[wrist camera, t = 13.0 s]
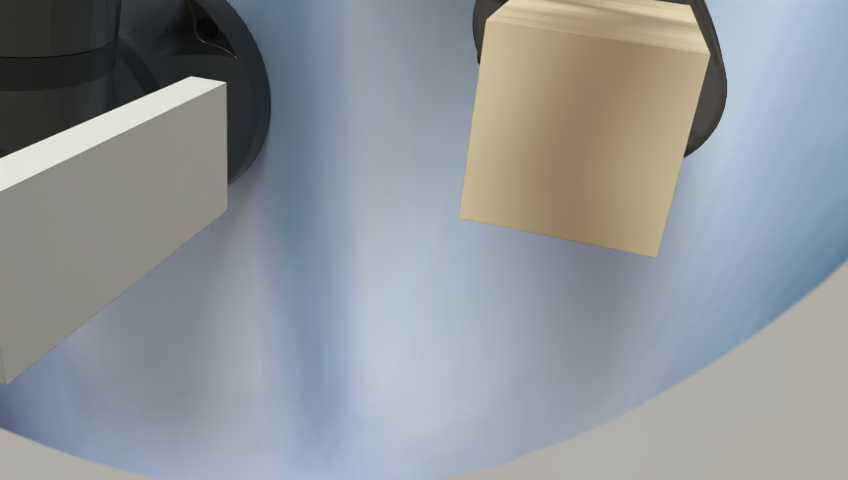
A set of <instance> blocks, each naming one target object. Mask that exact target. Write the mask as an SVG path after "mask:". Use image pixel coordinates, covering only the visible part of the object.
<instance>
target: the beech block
mask: <svg viewBox="0 0 848 480" xmlns="http://www.w3.org/2000/svg"><path fill="white" fill-rule="evenodd" d="M709 58H710V52H709V50H708V47H707V45H706V43H705V40H704V38H703V35H702V33H701V31H700V28H699V26H698V23H697V21H696V19H695V16H694V14H693V12H692V9H691V7H690V5H683V4H677V3H670V2H663V1H656V0H509V1H507V2H506V3H505V4H504V5H503V6H502V7H501V8H499V9H498V10H497V11H496V12H495V13H494V14H492V15H491V16H490V17H489V18H488V19H487V20H486V25H485V32H484V39H483V47H482V54H481V61H480V68H479V75H478V83H477V90H476V97H475V104H474V112H473V119H472V126H471V133H470V140H469V148H468V155H467V162H466V169H465V176H464V184H463V191H462V198H461V205H460V213H459V218H462V219H467V220H472V221H477V222H482V223H487V224H492V225H497V226H502V227H507V228H512V229H517V230H522V231H527V232H532V233H537V234H542V235H547V236H552V237H557V238H562V239H567V240H572V241H577V242H582V243H587V244H592V245H597V246H602V247H607V248H612V249H617V250H622V251H626V252H631V253H636V254H641V255H646V256H651V257H656V258H657V255H658V251H659V247H660V243H661V239H662V236H663V232H664V228H665V224H666V221H667V217H668V213H669V209H670V205H671V202H672V198H673V194H674V190H675V187H676V183H677V179H678V175H679V171H680V168H681V164H682V160H683V156H684V152H685V149H686V145H687V141H688V137H689V134H690V130H691V126H692V122H693V118H694V115H695V111H696V107H697V103H698V100H699V96H700V92H701V88H702V84H703V81H704V77H705V73H706V69H707V66H708V62H709Z"/></svg>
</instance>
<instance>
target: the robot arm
mask: <svg viewBox="0 0 848 480" xmlns="http://www.w3.org/2000/svg"><path fill="white" fill-rule="evenodd" d="M269 115H270V93H269V84H268V78H267V74H266V69H265V66H264V63H263V60H262V57H261V54H260V51H259V49H258V47H257V45H256V42H255V40H254V39H253V37H252V35H251V33H250V31H249V30H248V28H247V26H246V25H245V23H244V22H243V20H242V19H241V18H240V16H239V15H238V14H237V13H236V11H235V10H234V9H233V8H232V7H231V6H230V4H229V3H228V2H227V1H226V0H0V383H2V384H6V385H8V384H9V383H10V382H12V381H13V380H14V379H15V378H17V377H18V376H19V375H20V374H22V373H23V372H24V371H25V370H27V369H28V368H29V367H30V366H32V365H33V364H34V363H35V362H37V361H38V360H39V359H40V358H42V357H43V356H44V355H45V354H47V353H48V352H49V351H51V350H52V349H53V348H54V347H56V346H57V345H58V344H59V343H61V342H62V341H63V340H64V339H66V338H67V337H68V336H69V335H71V334H72V333H73V332H74V331H76V330H77V329H78V328H79V327H81V326H82V325H83V324H84V323H86V322H87V321H88V320H89V319H91V318H92V317H93V316H94V315H96V314H97V313H98V312H100V311H101V310H102V309H103V308H105V307H106V306H107V305H108V304H110V303H111V302H112V301H113V300H115V299H116V298H117V297H118V296H120V295H121V294H122V293H123V292H125V291H126V290H127V289H128V288H130V287H131V286H132V285H133V284H135V283H136V282H137V281H138V280H140V279H141V278H142V277H143V276H145V275H146V274H147V273H149V272H150V271H151V270H152V269H154V268H155V267H156V266H157V265H159V264H160V263H161V262H162V261H164V260H165V259H166V258H167V257H169V256H170V255H171V254H172V253H174V252H175V251H176V250H177V249H179V248H180V247H181V246H182V245H184V244H185V243H186V242H187V241H189V240H190V239H191V238H192V237H194V236H195V235H196V234H198V233H199V232H200V231H201V230H203V229H204V228H205V227H206V226H208V225H209V224H210V223H211V222H213V221H214V220H215V219H216V218H218V217H219V216H220V215H221V214H223V213H224V212H225V211H226V210H228V204H227V186H228V185H229V184H231V183H232V182H234V181H235V180H236V179H237V178H239V177H240V176H241V175H242V174H243V173H244V172H245V171H246V170H247V169H248V168H249V166H250V165H251V164H252V162H253V161H254V160H255V158H256V156H257V154H258V153H259V151H260V149H261V146H262V144H263V141H264V139H265V135H266V132H267V127H268V122H269Z"/></svg>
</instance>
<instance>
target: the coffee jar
mask: <svg viewBox="0 0 848 480" xmlns="http://www.w3.org/2000/svg"><path fill="white" fill-rule="evenodd" d="M507 1H509V0H476V2H475V7H474V11H473V36H474V42H475V46H476V49H477V52H478V54H477V59H478V63H479V65H480V61H481V54H482V47H483V39H484V32H485V25H486V20H487V19H488V18H489V17H490V16H491V15H492V14H494V13H495V12H496V11H497V10H498V9H499V8H501V7H502V6H503V5H504V4H505V3H506V2H507ZM656 1H663V2H670V3H677V4H683V5H690V7H691V9H692V12H693V14H694V16H695V19H696V21H697V23H698V26H699V28H700V31H701V33H702V35H703V38H704V40H705V43H706V45H707V47H708V50H709V52H710V58H709V62H708V66H707V69H706V73H705V77H704V81H703V84H702V88H701V92H700V96H699V100H698V103H697V107H696V111H695V115H694V118H693V122H692V126H691V130H690V134H689V137H688V141H687V145H686V149H685V152H684V156H683V158H684V157H686V156H688V155H690V154H691V153H692V152H694V151H695V150H697V149H698V148H699V147H700V146H701V145H702V144H703V143H704V142H705V141H706V140H707V139H708V138H709V137H710V135H711V134H712V133H713V131H714V130H715V129H716V127H717V125H718V123H719V121H720V119H721V117H722V114H723V111H724V107H725V103H726V97H727V78H726V72H725V68H724V63H723V58H722V54H721V49H720V45H719V41H718V37H717V34H716V31H715V28H714V24H713V21H712V18H711V16H710V13H709V10H708V8H707V5H706V3H705V0H656Z"/></svg>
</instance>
